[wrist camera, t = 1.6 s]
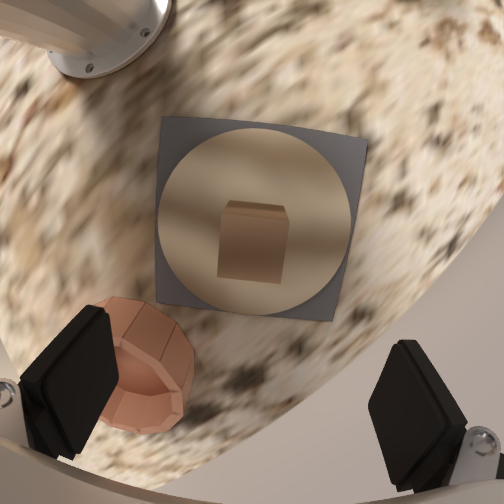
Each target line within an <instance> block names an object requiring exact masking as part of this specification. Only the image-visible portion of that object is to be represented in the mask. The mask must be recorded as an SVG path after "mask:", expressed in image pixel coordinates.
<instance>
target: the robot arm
mask: <svg viewBox="0 0 504 504" xmlns="http://www.w3.org/2000/svg"><path fill="white" fill-rule="evenodd" d="M171 6H172V0H0V37H4V38H8V39H12V40H15V41H19V42H22V43H26V44H29V45H33V46H36V47H39V48H43V49H46V50H47V53H48V57H49V59H50V61H51V63H52V64H53V65H54V66H55V67H56V68H57V69H58V70H59V71H60V72H62V73H64V74H66V75H69V76H72V77H76V78H83V79H89V78H98V77H102V76H105V75H109V74H111V73H113V72H115V71H118V70H120V69H122V68H123V67H125V66H126V65H128V64H130V63H131V62H133V61H134V60H135V59H136V58H138V57H139V56H140V55H141V54H142V53H144V52H145V51H146V49H147V48H148V47H149V46H150V45H151V44H152V43H153V42H154V41H155V39H156V38H157V36H158V35H159V34H160V32H161V31H162V29H163V27H164V25H165V23H166V21H167V19H168V17H169V13H170V10H171ZM147 34H149V35H148V36H147V37H146V35H147ZM20 379H21V381H20V382H19V383H18V384H16V383H15V382H14V381H12V380H11V379H6V378H0V504H221V503H213V502H206V501H199V500H193V499H187V498H182V497H176V496H171V495H167V494H162V493H157V492H153V491H149V490H145V489H141V488H137V487H134V486H130V485H127V484H123V483H120V482H116V481H113V480H110V479H107V478H104V477H101V476H98V475H95V474H93V473H90V472H87V471H84V470H81V469H79V468H76V467H73V466H71V465H68V464H66V463H63V462H61V461H58V460H57V458H58V456H59V455H60V456H63V457H65V458H68V459H70V460H72V461H73V459H74V457H75V455H76V453H77V454H80V453H81V452H82V450H83V448H84V446H85V444H86V442H87V440H88V438H89V436H90V434H91V433H92V431H93V429H94V427H95V425H96V423H97V421H98V419H99V417H100V415H101V413H102V412H103V410H104V408H105V406H106V404H107V402H108V400H109V398H110V397H111V395H112V393H113V391H114V389H115V387H116V386H117V384H118V381H119V372H118V366H117V361H116V355H115V349H114V343H113V336H112V329H111V322H110V316H109V314H108V313H106V312H105V309H104V308H103V307H98V306H93V305H86V306H85V307H84V308H83V309H82V310H81V311H80V312H79V313H78V314H77V315H76V316H75V317H74V318H73V319H72V320H71V321H70V322H69V324H68V325H67V326H66V327H65V328H64V329H63V330H62V331H61V332H60V333H59V334H58V335H57V336H56V337H55V338H54V339H53V340H52V342H51V343H50V344H49V345H48V346H47V347H46V348H45V349H44V350H43V351H42V353H41V354H40V355H39V356H38V357H37V358H36V359H35V360H34V361H33V363H32V364H31V365H30V366H29V367H28V368H27V369H26V371H25V372H24V373H23V374H22V375H21V376H20ZM368 409H369V413H370V416H371V419H372V422H373V425H374V428H375V431H376V434H377V438H378V441H379V444H380V447H381V450H382V454H383V457H384V460H385V464H386V467H387V470H388V474H389V477H390V481H391V483H392V484H393V485H396V489H397V492H402V491H406V490H411V489H412V488H413V491H414V494H411V495H406V496H401V497H396V498H390V499H384V500H378V501H372V502H365V503H357V504H504V454H502V453H500V450H501V444H500V441H499V438H498V437H497V436H496V434H495V433H494V432H493V431H491V430H490V429H488V428H486V427H482V426H475V427H471V428H470V429H469V430H466V428H465V426H466V424H467V423H468V422H467V420H466V418H465V416H464V415H463V413H462V411H461V410H460V408H459V406H458V405H457V403H456V401H455V400H454V398H453V396H452V395H451V393H450V391H449V390H448V388H447V387H446V385H445V383H444V382H443V380H442V379H441V377H440V376H439V374H438V372H437V371H436V369H435V368H434V366H433V365H432V363H431V362H430V360H429V359H428V357H427V355H426V354H425V353H424V351H423V350H422V348H421V347H420V345H419V344H418V342H417V341H416V340H399V341H398V342H397V344H394V345H393V346H392V349H391V351H390V354H389V356H388V359H387V361H386V363H385V366H384V368H383V371H382V373H381V375H380V378H379V380H378V382H377V384H376V387H375V389H374V391H373V393H372V395H371V397H370V400H369V403H368Z"/></svg>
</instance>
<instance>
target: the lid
mask: <svg viewBox="0 0 504 504" xmlns="http://www.w3.org/2000/svg"><path fill="white" fill-rule="evenodd" d="M350 230H351V214H350V207H349V202H348V198H347V195H346V191H345V189H344V187H343V184H342V182H341V180H340V178H339V177H338V175H337V173H336V172H335V170H334V169H333V167H332V166H331V165H330V164H329V163H328V161H327V160H326V159H325V158H324V157H323V156H322V155H321V154H320V153H319V152H318V151H316V150H315V149H314V148H312V147H311V146H310V145H308V144H307V143H305V142H304V141H302V140H300V139H298V138H295V137H293V136H291V135H288V134H285V133H282V132H279V131H274V130H269V129H259V128H248V129H238V130H233V131H229V132H225V133H222V134H220V135H217V136H214V137H212V138H210V139H208V140H206V141H205V142H203V143H201V144H199V145H198V146H197V147H195V148H194V149H193V150H192V151H190V152H189V153H188V154H187V155H186V156H185V157H184V158H183V159H182V160H181V161H180V162H179V164H178V165H177V166H176V168H175V169H174V170H173V172H172V173H171V175H170V177H169V179H168V181H167V182H166V185H165V187H164V190H163V193H162V195H161V200H160V204H159V210H158V233H159V238H160V244H161V247H162V250H163V253H164V256H165V258H166V260H167V262H168V264H169V266H170V268H171V269H172V271H173V272H174V274H175V275H176V277H177V278H178V279H179V280H180V282H181V283H182V284H183V285H184V286H185V287H186V288H187V289H188V290H189V291H190V292H191V293H193V294H194V295H196V296H197V297H198V298H200V299H201V300H203V301H205V302H206V303H208V304H210V305H212V306H214V307H217V308H219V309H221V310H225V311H228V312H232V313H237V314H243V315H267V314H273V313H278V312H282V311H285V310H288V309H291V308H293V307H295V306H297V305H300V304H302V303H303V302H305V301H307V300H308V299H310V298H311V297H313V296H314V295H315V294H316V293H318V292H319V291H320V290H321V289H322V288H323V287H324V286H325V285H326V284H327V283H328V282H329V281H330V279H331V278H332V277H333V276H334V274H335V273H336V271H337V269H338V268H339V266H340V264H341V263H342V260H343V258H344V255H345V253H346V250H347V246H348V243H349V238H350Z"/></svg>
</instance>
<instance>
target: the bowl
mask: <svg viewBox="0 0 504 504" xmlns="http://www.w3.org/2000/svg"><path fill="white" fill-rule="evenodd" d="M93 306H98V307H103V308H104V309H105V312H106V313H108V314H109V316H110V322H111V329H112V336H113V343H114V349H115V355H116V361H117V366H118V372H119V381H118V384H117V386H116V387H115V389H114V391H113V393H112V395H111V397H110V398H109V400H108V402H107V404H106V406H105V408H104V410H103V412H102V413H101V415H100V417H99V420H101V421H103V422H104V423H106V424H108V425H109V426H111V427H115V428H118V429H122V430H126V431H130V432H133V433H137V434H149V433H157V432H165V431H168V430H169V429H170V428H171V427H172V426H173V425H175V424H176V423H177V422H178V421H179V420H180V419H181V418H182V417H183V415H184V412H185V408H186V404H187V400H188V396H189V393H190V389H191V385H192V381H193V378H194V349H193V347H192V345H191V344H190V342H189V341H188V339H187V338H186V336H185V335H184V333H183V332H182V330H181V328H180V327H179V325H178V324H177V323H176V322H175V321H174V320H172V319H171V318H169V317H168V316H166V315H165V314H163V313H162V312H160V311H159V310H157V309H156V308H154V307H153V306H151V305H150V304H148V303H147V302H143V301H137V300H131V299H125V298H119V297H111V298H109V299H106V300H104V301H102V302H100V303H97V304H95V305H93Z"/></svg>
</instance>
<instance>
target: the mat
mask: <svg viewBox="0 0 504 504" xmlns="http://www.w3.org/2000/svg"><path fill="white" fill-rule="evenodd" d="M248 128H259V129H269V130H274V131H279V132H282V133H285V134H288V135H291V136H293V137H295V138H298V139H300V140H302V141H304V142H305V143H307V144H308V145H310V146H311V147H312V148H314V149H315V150H316V151H318V152H319V153H320V154H321V155H322V156H323V157H324V158H325V159H326V160H327V161H328V163H329V164H330V165H331V166H332V167H333V169H334V170H335V172H336V173H337V175H338V177H339V178H340V180H341V182H342V184H343V187H344V189H345V191H346V195H347V198H348V202H349V207H350V214H351V230H350V238H349V243H348V246H347V250H346V253H345V255H344V258H343V260H342V263H341V264H340V266H339V268H338V269H337V271H336V273H335V274H334V276H333V277H332V278H331V279H330V281H329V282H328V283H327V284H326V285H325V286H324V287H323V288H322V289H321V290H320V291H319V292H318V293H316V294H315V295H314V296H313V297H311V298H310V299H308V300H307V301H305V302H303V303H302V304H300V305H297V306H295V307H293V308H291V309H288V310H285V311H282V312H278V313H273V314H267V315H262V316H272V317H283V318H294V319H306V320H320V321H332V320H333V316H334V312H335V309H336V305H337V301H338V297H339V292H340V288H341V284H342V280H343V276H344V271H345V267H346V262H347V258H348V253H349V248H350V243H351V238H352V233H353V228H354V223H355V218H356V212H357V206H358V201H359V195H360V189H361V183H362V176H363V170H364V163H365V156H366V148H367V140H366V139H362V138H357V137H352V136H347V135H341V134H336V133H331V132H325V131H319V130H313V129H306V128H300V127H293V126H285V125H277V124H269V123H260V122H250V121H239V120H227V119H212V118H192V117H162V121H161V132H160V144H159V157H158V173H157V194H156V230H155V269H156V302H158V303H164V304H171V305H178V306H186V307H193V308H201V309H208V310H216V311H225V310H221V309H219V308H217V307H214V306H212V305H210V304H208V303H206V302H205V301H203V300H201V299H200V298H198V297H197V296H196V295H194V294H193V293H191V292H190V291H189V290H188V289H187V288H186V287H185V286H184V285H183V284H182V283H181V282H180V280H179V279H178V278H177V277H176V275H175V274H174V272H173V271H172V269H171V268H170V266H169V264H168V262H167V260H166V258H165V256H164V253H163V250H162V247H161V244H160V238H159V233H158V210H159V204H160V200H161V195H162V193H163V190H164V187H165V185H166V182H167V181H168V179H169V177H170V175H171V173H172V172H173V170H174V169H175V168H176V166H177V165H178V164H179V162H180V161H181V160H182V159H183V158H184V157H185V156H186V155H187V154H188V153H189V152H190V151H192V150H193V149H194V148H195V147H197V146H198V145H199V144H201V143H203V142H205V141H206V140H208V139H210V138H212V137H214V136H217V135H220V134H222V133H225V132H229V131H233V130H238V129H248ZM225 312H228V311H225Z"/></svg>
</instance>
